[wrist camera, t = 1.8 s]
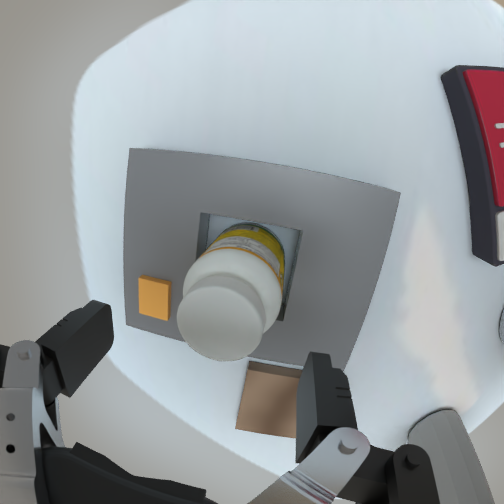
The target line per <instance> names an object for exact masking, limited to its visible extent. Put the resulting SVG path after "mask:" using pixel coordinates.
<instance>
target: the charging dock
mask: <svg viewBox="0 0 504 504" xmlns="http://www.w3.org/2000/svg"><path fill="white" fill-rule="evenodd" d="M400 194H401V193H400V192H397V191H394V190H391V189H387V188H384V187H380V186H376V185H372V184H368V183H364V182H360V181H356V180H351V179H347V178H343V177H338V176H334V175H329V174H325V173H320V172H315V171H310V170H305V169H300V168H295V167H289V166H284V165H278V164H272V163H266V162H260V161H254V160H247V159H240V158H233V157H226V156H218V155H210V154H201V153H192V152H182V151H171V150H158V149H143V148H130V149H129V159H128V169H127V180H126V193H125V211H124V249H123V260H124V298H125V315H126V325H128V326H132V327H135V328H138V329H141V330H144V331H148V332H151V333H155V334H158V335H162V336H165V337H169V338H172V339H176V340H180V341H184V342H186V341H185V340H184V339H183V337H182V335H181V333H180V331H179V328H178V324H177V311H178V307H179V305H180V303H181V301H182V299H183V285H184V281H185V277H186V275H187V273H188V271H189V269H190V268H191V266H192V265H193V264H194V263H195V262H196V261H197V259H198V258H199V257H200V256H201V255H202V254H203V253H204V252H205V251H206V242H207V233H208V224H209V216H210V214H214V215H220V216H225V217H231V218H237V219H243V220H248V221H254V222H259V223H265V224H270V225H276V226H281V227H286V228H291V229H297V230H300V235H299V240H298V244H297V249H296V254H295V259H294V263H293V268H292V272H291V277H290V282H289V286H288V290H287V295H286V299H285V304H284V305H281V307H280V311H279V314H278V316H277V319H276V320H275V322H274V323H273V325H272V326H271V327H270V328H269V329H268V330H267V331H266V332H265V333H263V335H262V338H261V341H260V343H259V345H258V346H257V348H256V349H255V350H254V351H253V352H252V353H251V354H249V355H248V357H253V358H259V359H264V360H269V361H275V362H281V363H287V364H293V365H299V366H304V365H305V362H306V360H307V357H308V354H309V352H310V351H311V352H318V353H325V354H330V357H331V363H332V368H340V369H341V370H342V371H344V369H345V367H346V364H347V362H348V360H349V357H350V355H351V352H352V350H353V347H354V345H355V342H356V340H357V337H358V335H359V332H360V330H361V327H362V324H363V322H364V319H365V316H366V313H367V310H368V308H369V305H370V302H371V299H372V296H373V293H374V290H375V287H376V284H377V281H378V278H379V274H380V271H381V268H382V264H383V261H384V258H385V254H386V251H387V247H388V243H389V240H390V236H391V232H392V228H393V224H394V220H395V216H396V212H397V207H398V203H399V198H400Z"/></svg>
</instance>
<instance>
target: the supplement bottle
mask: <svg viewBox="0 0 504 504" xmlns="http://www.w3.org/2000/svg"><path fill="white" fill-rule="evenodd" d="M284 267H285V260H284V250H283V247H282V244H281V242H280V241H279V239H278V238H277V237H276V235H275V234H274V233H272V232H271V231H270V230H269V229H267V228H265V227H263V226H261V225H258V224H254V223H240V224H236V225H234V226H231V227H229V228H228V229H226V230H225V231H223V232H222V233H221V234H220V235H219V237H218V238H217V239H216V240H215V241H214V242H213V243H212V244H211V245H210V246H209V248H208V249H207V250H206V251H205V252H204V253H203V254H202V255H201V256H200V257H199V258H198V259H197V261H196V262H195V263H194V264H193V265H192V266H191V268H190V269H189V271H188V273H187V275H186V277H185V281H184V285H183V299H182V301H181V303H180V305H179V307H178V311H177V324H178V328H179V331H180V333H181V335H182V337H183V339H184V340H185V341H186V343H187V344H188V345H189V346H190V347H191V348H192V349H193V350H195V351H196V352H198V353H199V354H201V355H203V356H205V357H207V358H210V359H213V360H217V361H235V360H239V359H242V358H244V357H246V356H248V355H249V354H251V353H252V352H253V351H254V350H255V349H256V348H257V346H258V345H259V343H260V341H261V338H262V335H263V333H265V332H266V331H267V330H268V329H269V328H270V327H271V326H272V325H273V323H274V322H275V320H276V319H277V316H278V314H279V311H280V307H281V302H282V292H283V280H284Z"/></svg>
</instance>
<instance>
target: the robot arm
mask: <svg viewBox="0 0 504 504" xmlns="http://www.w3.org/2000/svg"><path fill="white" fill-rule="evenodd" d="M499 331H500V338H501V340H502V342H503V343H504V310H503V313H502V317H501V321H500V328H499ZM113 340H114V331H113V322H112V311H111V307H110V305H108V304H105V303H102V302H99V301H96V300H92V301H90V302H89V303H88V304H87V305H86V306H84V307H83V308H79V309H76V310H74V311H72V312H70V313H69V314H67V315H66V316H65V317H64V318H63V320H60V321H59V322H58V323H57V325H54V326H53V327H52V328H51V329H50V330H48V331H47V332H46V333H45V334H44V335H42V336H41V337H40V338H39V339H38V340H37V341H36V342H33V341H30V340H23V341H19V342H16V343H15V344H13V345H12V346H11V347H8V346H4V345H0V504H218V503H216V502H214V501H212V500H210V499H208V498H206V497H205V496H206V490H205V489H201V488H196V487H192V486H188V485H185V484H181V483H178V482H174V481H171V480H161V479H153V478H145V477H138V476H133V475H131V474H130V473H128V472H127V471H125V470H124V469H122V468H121V467H119V466H118V465H117V464H115V463H114V462H112V461H111V460H110V459H108V458H107V457H106V456H104V455H102V454H100V453H98V452H96V451H93V450H92V449H90V448H88V447H86V446H84V445H82V444H80V443H78V442H76V444H75V445H74V447H73V448H66V447H65V445H64V443H63V439H62V434H61V425H60V416H59V403H58V399H57V396H58V394H59V393H62V394H64V395H66V396H68V397H71V396H72V395H73V394H74V392H75V391H76V390H77V389H78V387H79V386H80V385H81V383H82V382H83V381H84V380H85V379H86V377H87V376H88V375H89V374H90V373H91V371H92V370H93V369H94V368H95V367H96V365H97V364H98V363H99V362H100V360H101V359H102V358H103V357H104V356H105V355H106V353H107V352H108V351H109V350H110V348H111V347H112V344H113ZM349 389H350V387H349V382H348V378H347V377H346V375H345V374H344V373H343V371H342V370H341V369H340V368H332V363H331V357H330V354H325V353H318V352H311V351H310V352H309V354H308V357H307V360H306V362H305V365H304V368H303V371H302V374H301V377H300V379H299V382H298V387H297V394H296V463H300V464H299V465H298V466H297V467H296V468H295V469H294V470H292V471H291V472H290V471H288V472H286V473H285V474H284V475H282V476H281V477H280V478H279V479H278V480H276V481H275V482H274V483H273V484H272V485H270V486H269V487H268V488H267V489H266V490H264V491H263V492H262V493H261V494H259V495H258V496H257V497H256V498H255V499H253V500H252V501H250V502H249V503H248V504H331V503H332V502H333V499H334V498H335V497H338V498H342V499H346V500H350V501H354V502H356V504H440V500H439V495H438V490H437V486H436V481H435V477H434V473H433V468H432V464H431V460H430V457H429V455H428V453H427V452H426V451H425V450H424V449H423V448H421V447H419V446H417V445H414V444H405V445H402V446H400V447H399V448H398V449H397V450H396V451H395V452H393V451H389V450H385V449H381V448H377V447H374V446H372V445H370V443H369V440H368V439H367V437H366V436H365V435H364V434H363V433H362V432H360V431H358V428H357V422H356V417H355V412H354V407H353V402H352V399H351V392H350V390H349Z"/></svg>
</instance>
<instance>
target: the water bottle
mask: <svg viewBox="0 0 504 504" xmlns="http://www.w3.org/2000/svg"><path fill="white" fill-rule="evenodd" d="M408 444H414V445H417V446H419V447H421V448H423V449H424V450H425V451H426V452H427V453H428V455H429V457H430V460H431V464H432V468H433V473H434V477H435V481H436V486H437V490H438V495H439V500H440V504H495V503H494V500H493V497H492V494H491V491H490V488H489V485H488V483H487V480H486V477H485V474H484V472H483V469H482V466H481V464H480V461H479V459H478V456H477V454H476V452H475V449H474V447H473V445H472V442H471V440H470V438H469V436H468V433H467V431H466V429H465V427H464V425H463V422H462V420H461V418H460V416H459V415H458V414H457V413H456V412H455V411H453V410H441V411H439V412H436V413H434V414H431V415H429V416H428V417H426V418H425V419H423V420H422V421H420V422H419V423H417V424H416V426H415V427H414V428H413V429H412V431H411V432H410V434H409V439H408Z"/></svg>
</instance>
